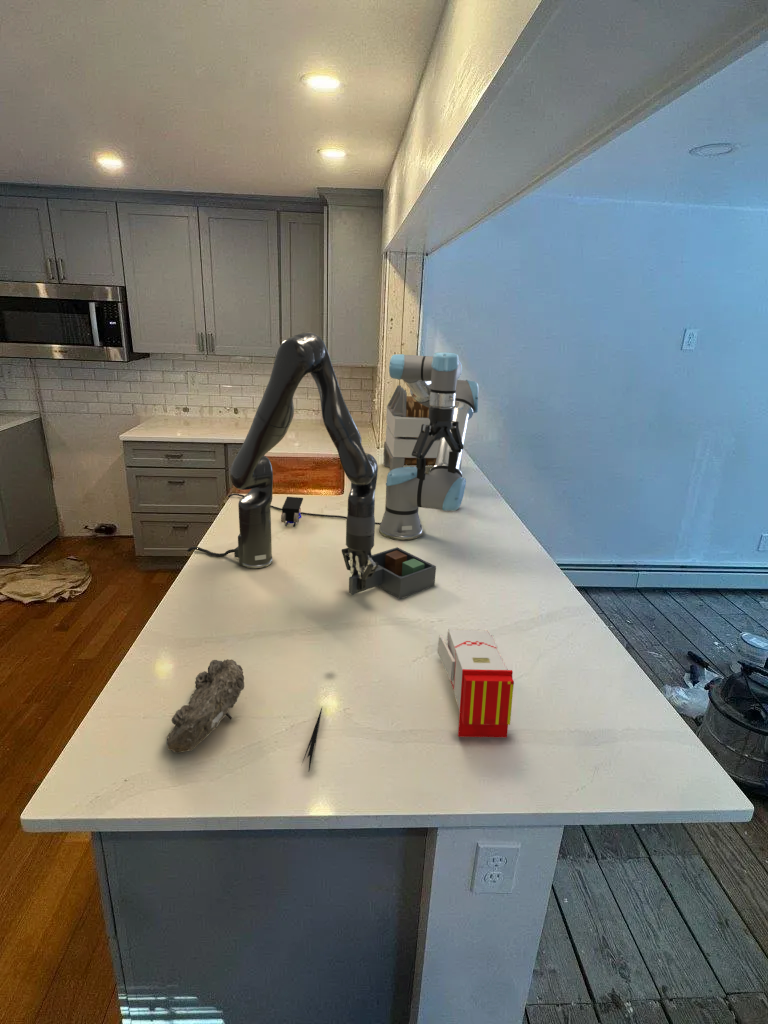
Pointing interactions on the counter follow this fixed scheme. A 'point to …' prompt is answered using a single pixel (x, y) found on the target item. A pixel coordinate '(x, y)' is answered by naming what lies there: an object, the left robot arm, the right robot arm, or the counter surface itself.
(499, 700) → the toy
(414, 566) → the green block
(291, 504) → the figurine character
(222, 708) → the fossil
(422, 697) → the counter surface
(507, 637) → the counter surface
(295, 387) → the left robot arm
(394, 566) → the walnut block
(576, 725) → the counter surface
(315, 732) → the feather
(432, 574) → the bin
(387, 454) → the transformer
